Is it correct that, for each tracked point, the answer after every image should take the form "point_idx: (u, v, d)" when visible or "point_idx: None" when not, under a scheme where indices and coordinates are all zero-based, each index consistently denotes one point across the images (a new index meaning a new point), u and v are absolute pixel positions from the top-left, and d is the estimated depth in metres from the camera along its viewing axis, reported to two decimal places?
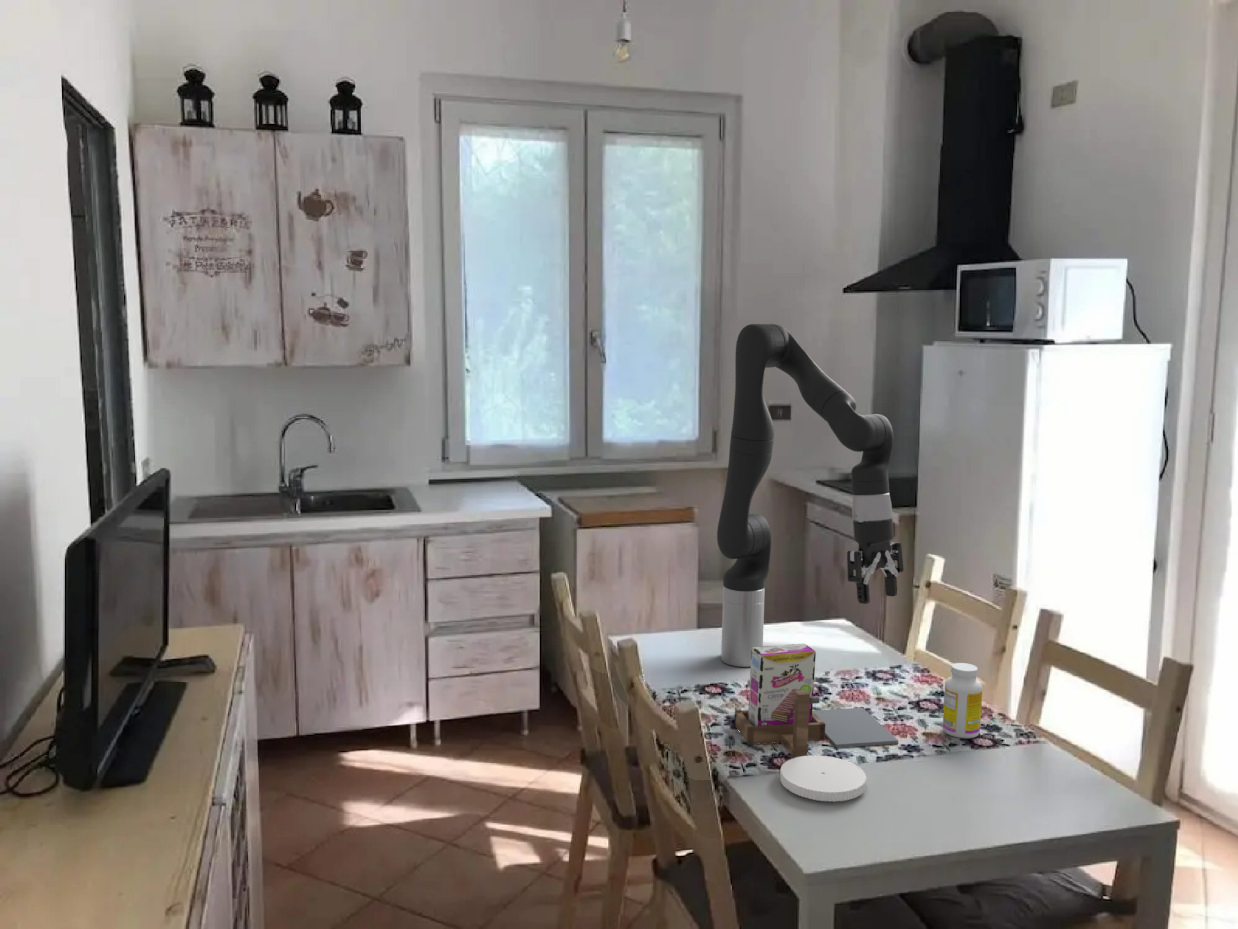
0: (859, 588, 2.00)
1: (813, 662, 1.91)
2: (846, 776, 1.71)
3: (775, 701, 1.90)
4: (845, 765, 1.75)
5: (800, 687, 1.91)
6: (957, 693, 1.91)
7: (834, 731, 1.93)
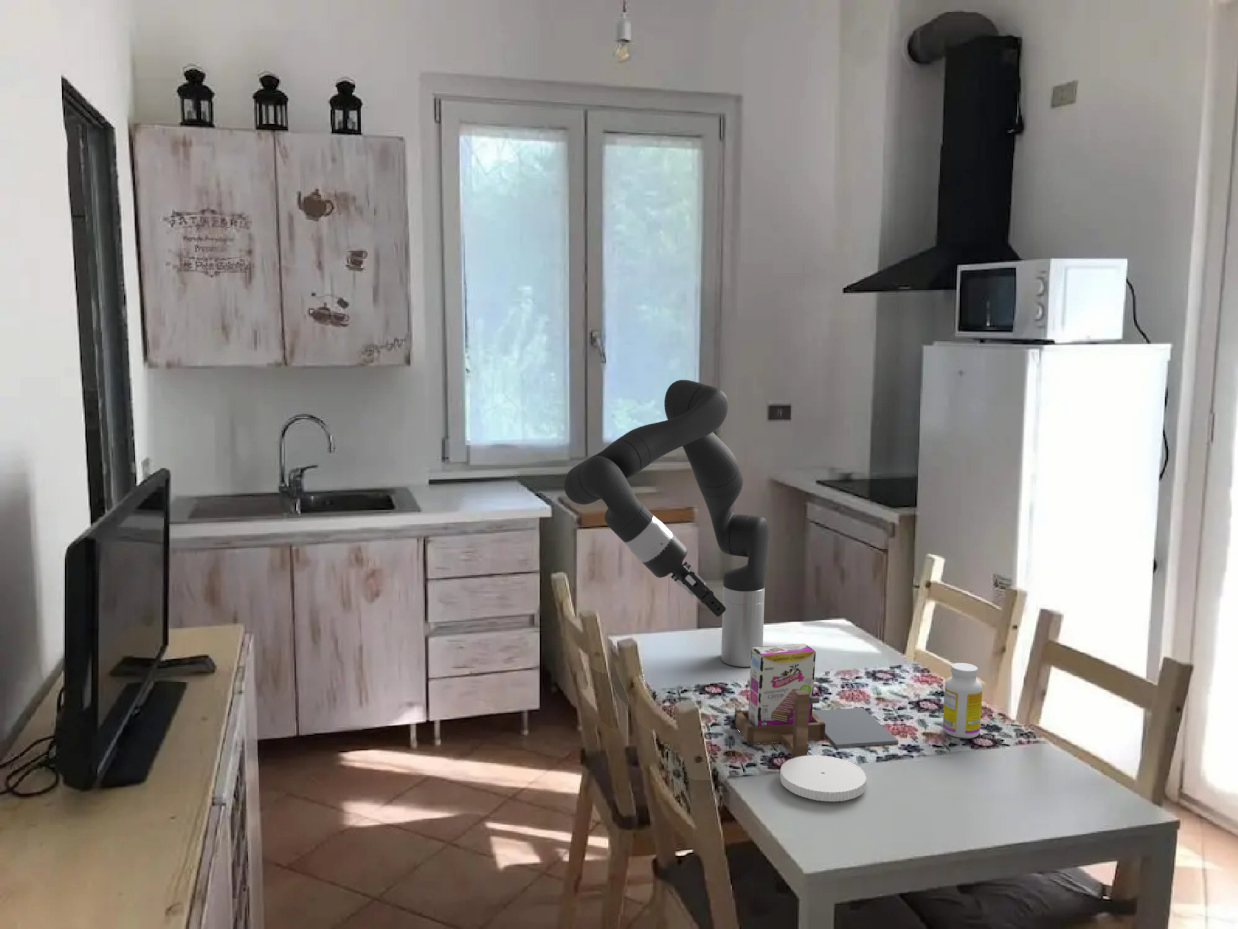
0: None
1: (813, 662, 1.91)
2: (846, 776, 1.71)
3: (775, 701, 1.90)
4: (845, 765, 1.75)
5: (800, 687, 1.91)
6: (957, 693, 1.91)
7: (834, 731, 1.93)
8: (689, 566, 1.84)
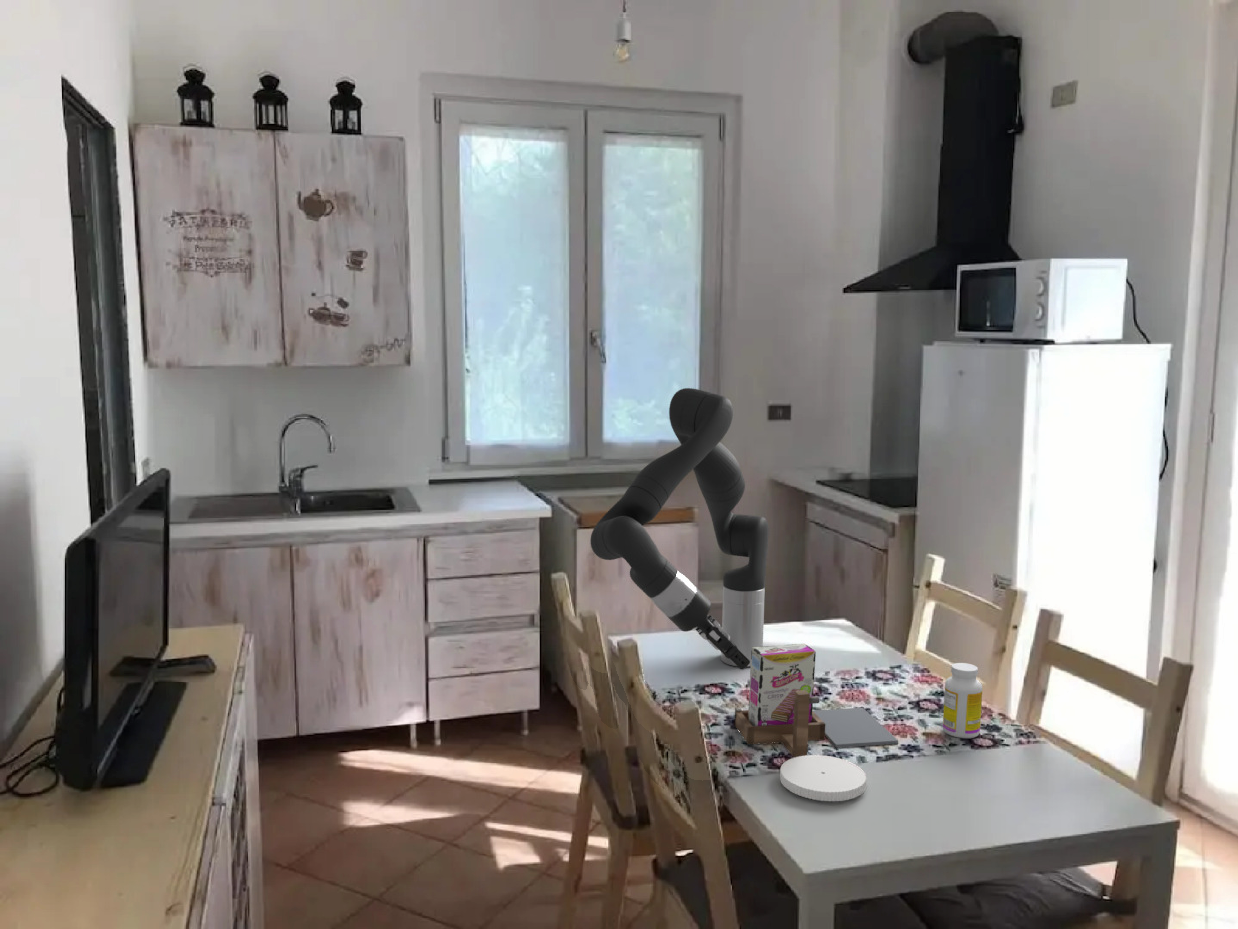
0: None
1: (813, 662, 1.91)
2: (846, 775, 1.71)
3: (775, 701, 1.90)
4: (845, 765, 1.75)
5: (800, 687, 1.91)
6: (957, 693, 1.91)
7: (834, 731, 1.93)
8: (713, 620, 1.87)
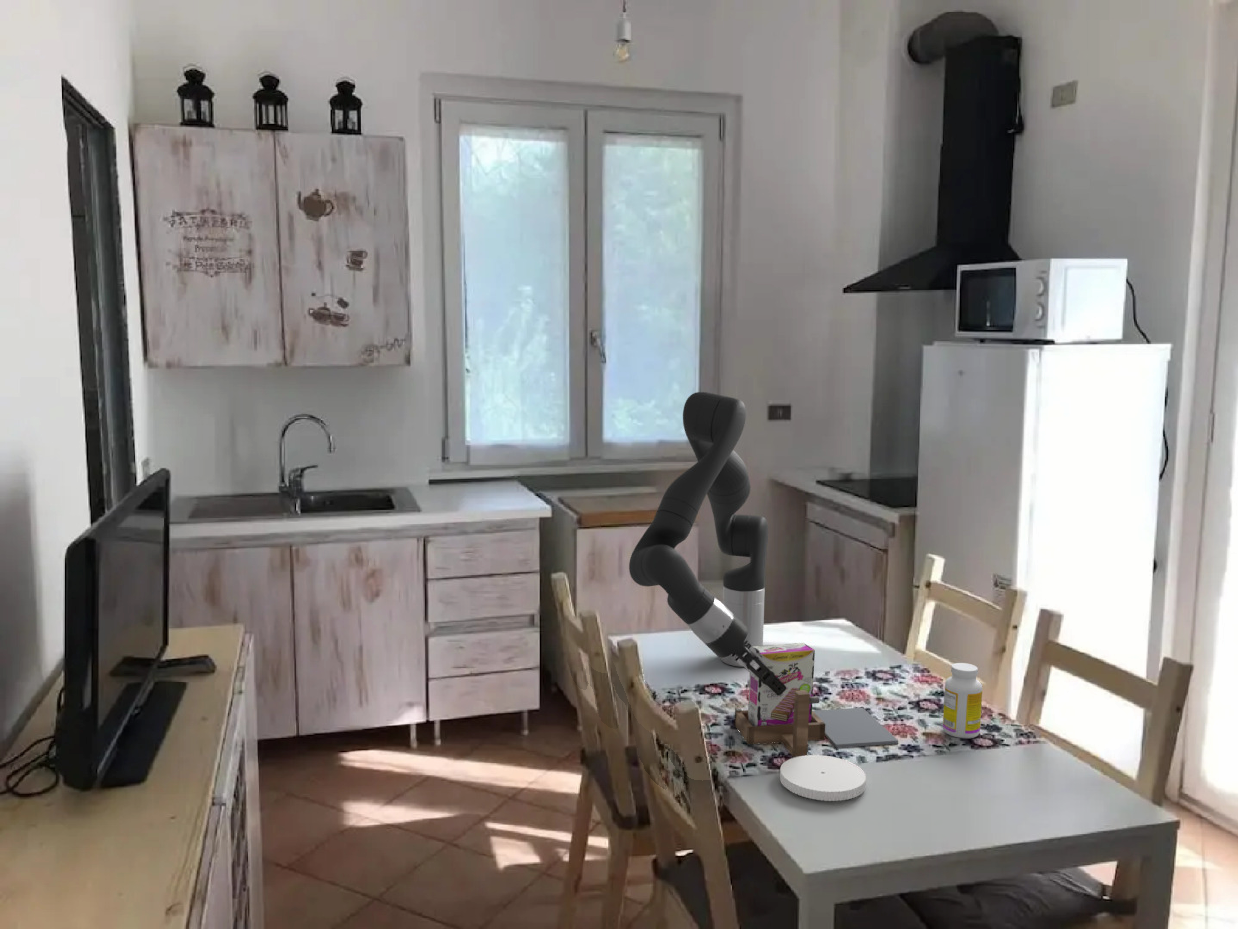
0: None
1: (812, 661, 1.91)
2: (846, 775, 1.71)
3: (775, 700, 1.90)
4: (844, 765, 1.75)
5: (800, 686, 1.91)
6: (957, 693, 1.91)
7: (834, 731, 1.93)
8: (750, 647, 1.88)
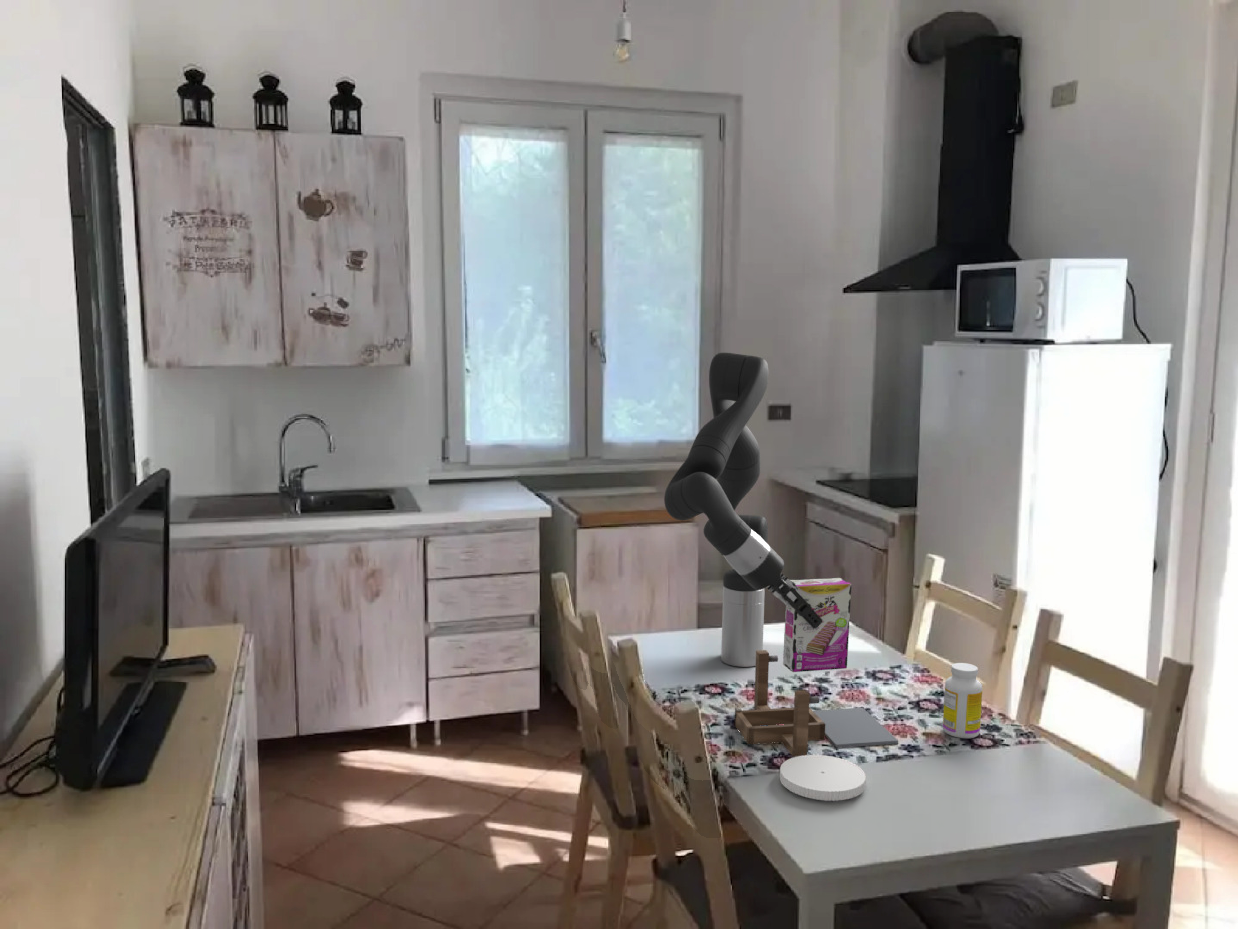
0: None
1: (849, 595, 1.90)
2: (846, 775, 1.71)
3: (810, 633, 1.89)
4: (844, 764, 1.75)
5: (836, 620, 1.90)
6: (957, 693, 1.91)
7: (834, 731, 1.93)
8: (787, 579, 1.88)
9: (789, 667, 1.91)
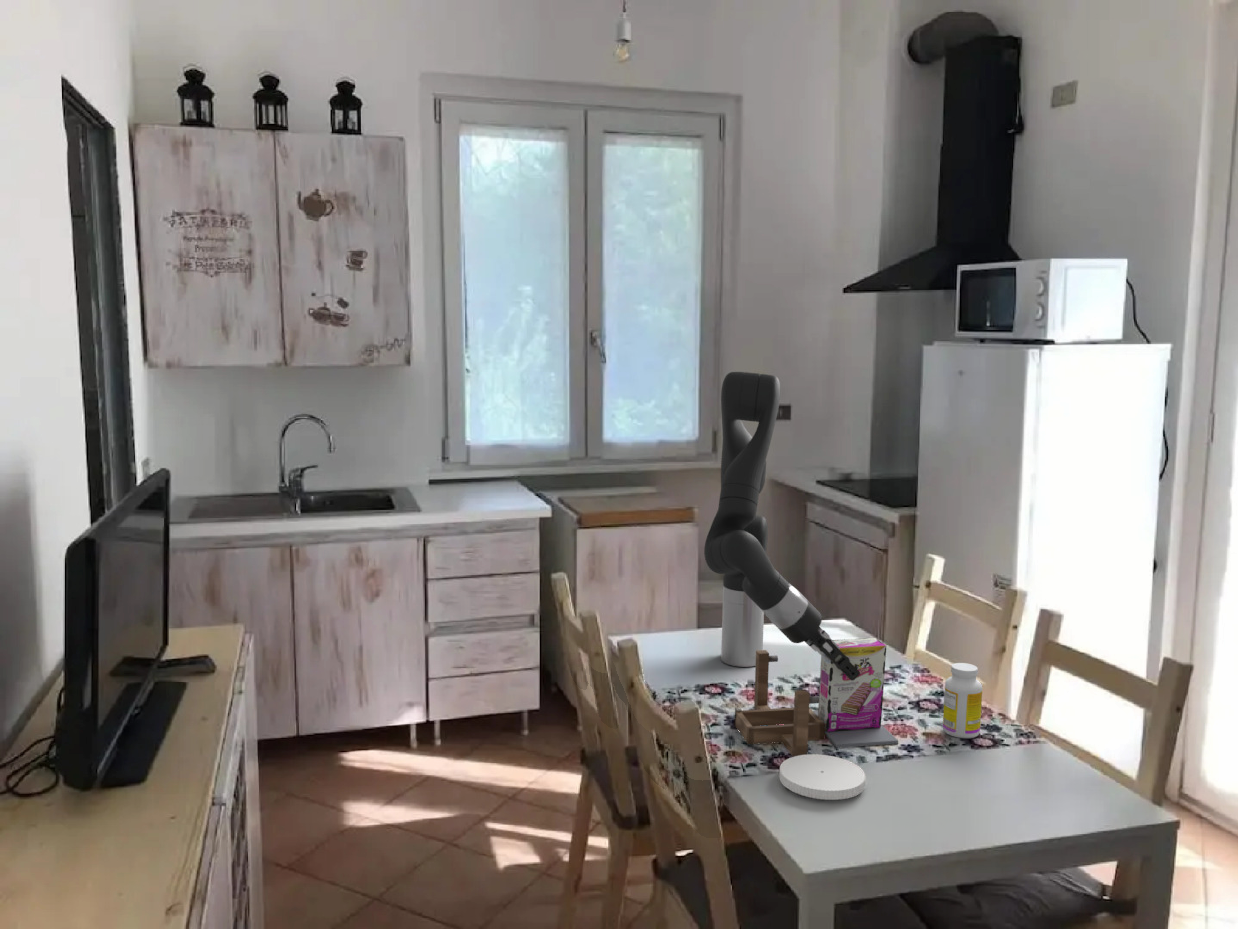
0: None
1: (883, 656, 1.93)
2: (845, 774, 1.72)
3: (845, 694, 1.92)
4: (843, 764, 1.76)
5: (871, 681, 1.93)
6: (957, 693, 1.91)
7: (834, 731, 1.93)
8: (823, 632, 1.91)
9: None
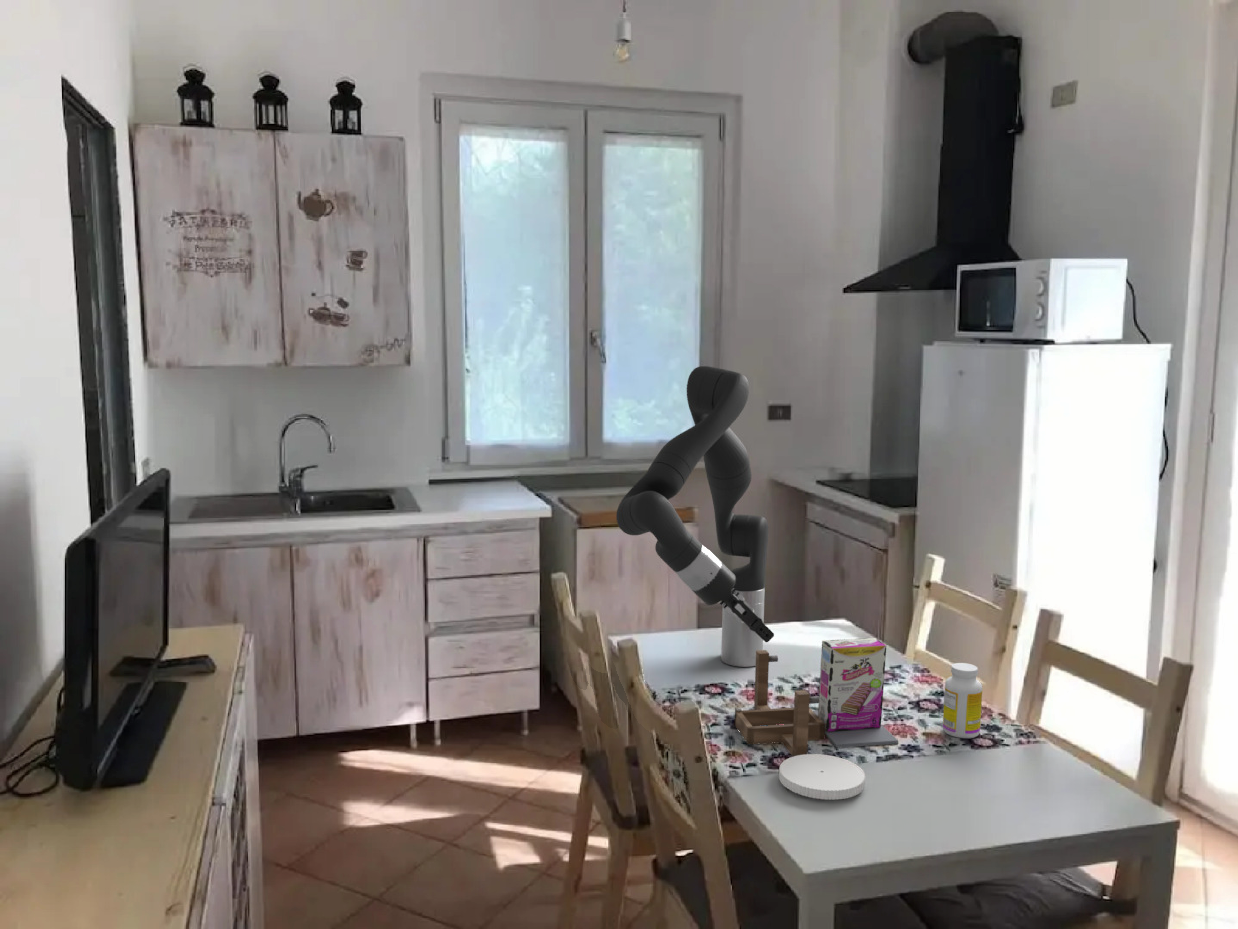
0: None
1: (883, 656, 1.93)
2: (845, 774, 1.72)
3: (845, 694, 1.92)
4: (843, 763, 1.76)
5: (871, 681, 1.93)
6: (957, 693, 1.91)
7: (834, 731, 1.93)
8: (738, 593, 1.89)
9: None
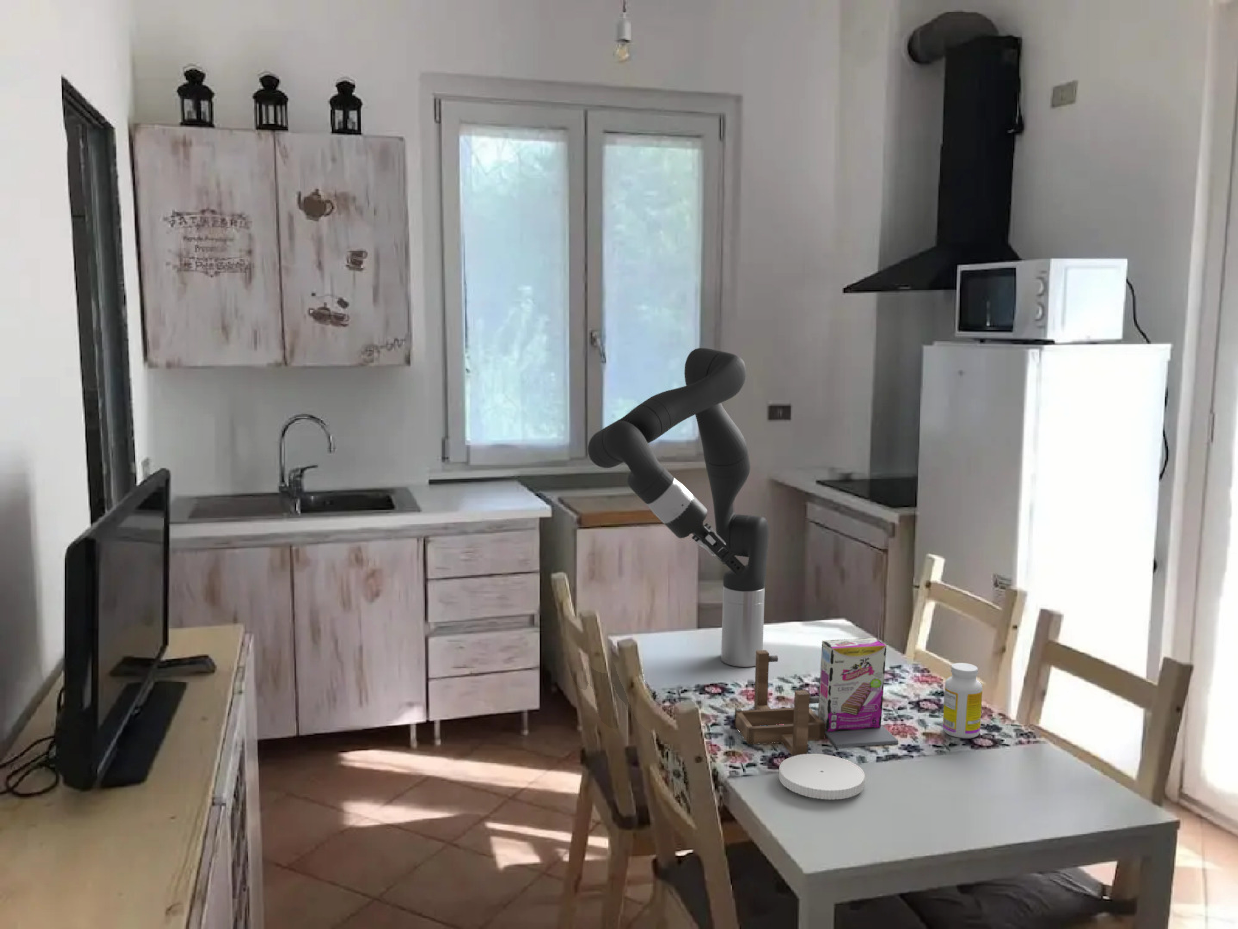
0: None
1: (883, 656, 1.93)
2: (845, 774, 1.72)
3: (845, 694, 1.92)
4: (843, 763, 1.76)
5: (871, 681, 1.93)
6: (957, 693, 1.91)
7: (834, 731, 1.93)
8: (709, 527, 1.90)
9: None
